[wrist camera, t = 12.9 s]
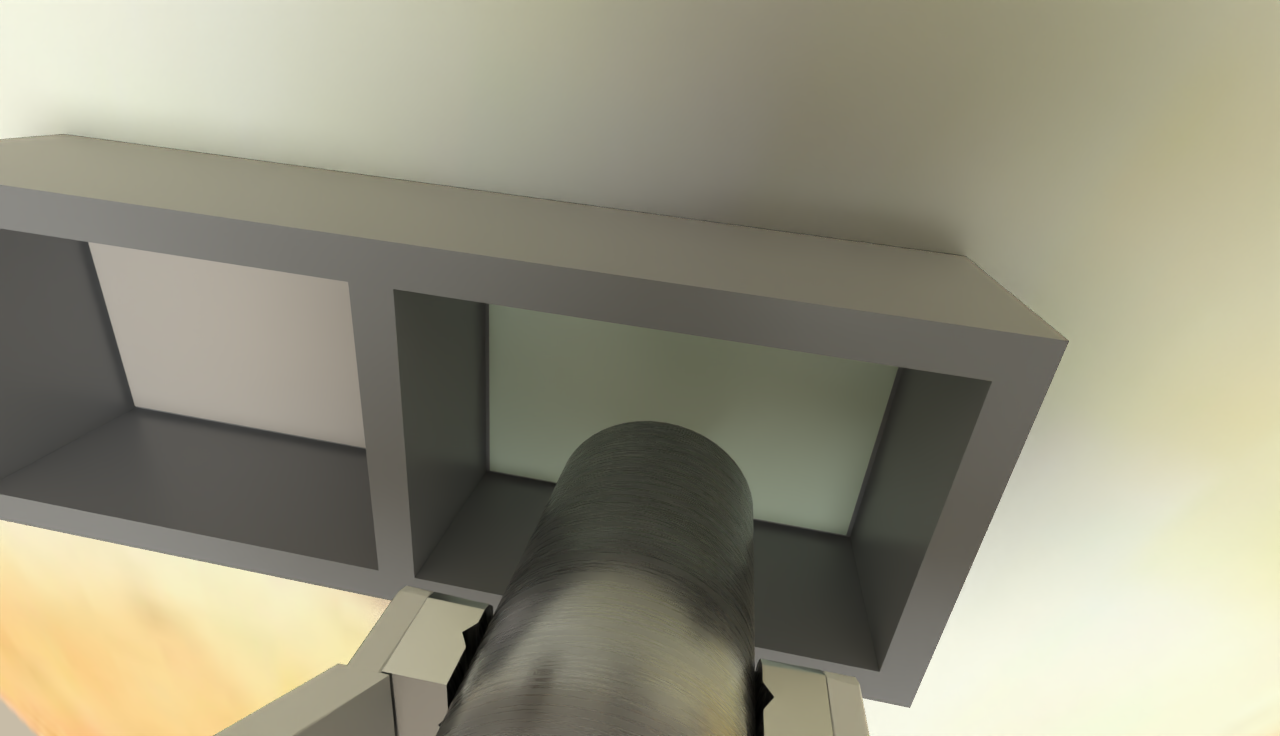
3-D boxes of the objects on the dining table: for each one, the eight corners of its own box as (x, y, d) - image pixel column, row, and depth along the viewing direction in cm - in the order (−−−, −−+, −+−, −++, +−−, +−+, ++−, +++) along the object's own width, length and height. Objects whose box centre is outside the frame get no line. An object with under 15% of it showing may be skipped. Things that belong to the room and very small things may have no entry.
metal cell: (563, 405, 13) (67, 1271, 4) (770, 440, 13) (838, 1531, 3) (554, 563, 15) (212, 1411, 5) (735, 598, 15) (709, 1589, 5)
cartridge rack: (63, 134, 19) (-202, 155, 14) (965, 256, 17) (1069, 340, 11) (142, 413, 24) (-37, 511, 18) (868, 546, 21) (910, 707, 16)
